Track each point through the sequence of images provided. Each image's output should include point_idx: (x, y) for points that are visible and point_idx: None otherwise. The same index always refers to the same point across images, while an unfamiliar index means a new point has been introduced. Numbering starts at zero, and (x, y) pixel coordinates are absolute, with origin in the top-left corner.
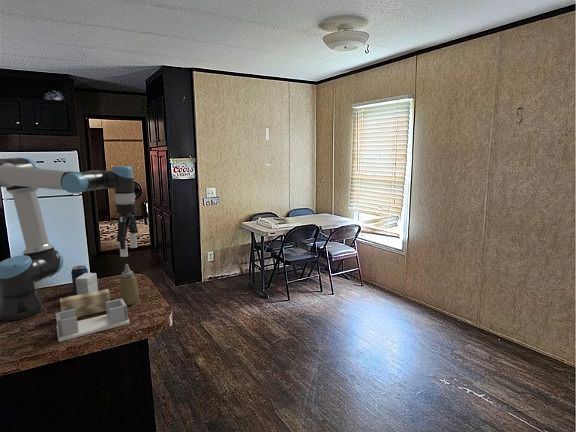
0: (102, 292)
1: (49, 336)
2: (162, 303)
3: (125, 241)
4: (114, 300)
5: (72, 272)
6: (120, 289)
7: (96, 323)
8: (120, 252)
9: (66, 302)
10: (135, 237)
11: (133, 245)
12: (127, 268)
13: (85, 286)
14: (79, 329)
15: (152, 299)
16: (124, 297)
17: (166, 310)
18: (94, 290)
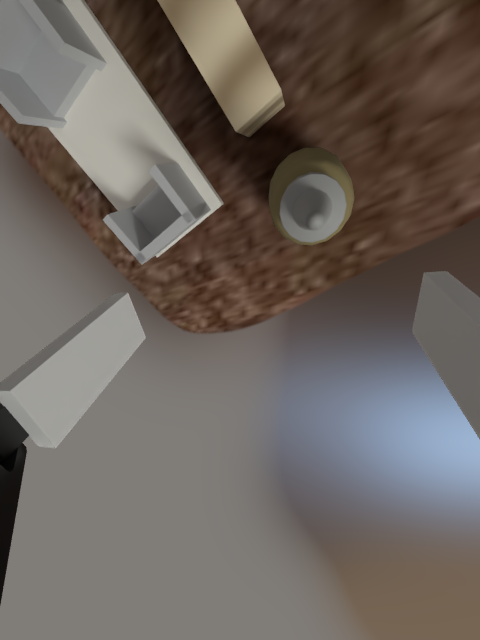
0: (232, 86)
1: None
2: (290, 302)
3: (36, 439)
4: (173, 197)
5: None
6: (280, 168)
7: (123, 156)
8: (91, 315)
9: None
10: (473, 420)
11: (427, 319)
12: (301, 224)
13: None
14: (77, 116)
15: (328, 262)
16: (269, 189)
17: (241, 323)
18: None
